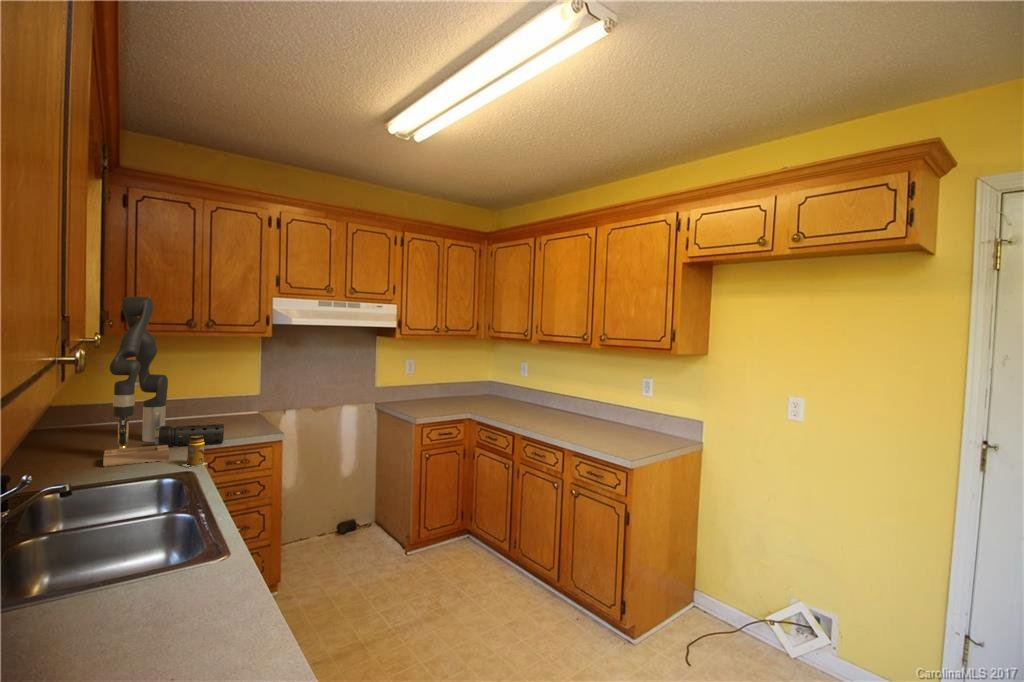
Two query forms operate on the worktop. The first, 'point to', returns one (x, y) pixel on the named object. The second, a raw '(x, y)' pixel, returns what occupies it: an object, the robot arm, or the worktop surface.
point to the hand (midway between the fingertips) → (122, 441)
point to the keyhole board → (136, 455)
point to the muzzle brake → (188, 434)
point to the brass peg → (123, 445)
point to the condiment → (196, 451)
